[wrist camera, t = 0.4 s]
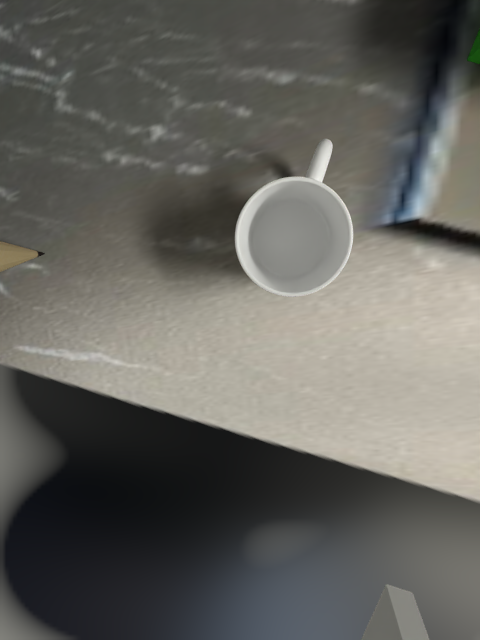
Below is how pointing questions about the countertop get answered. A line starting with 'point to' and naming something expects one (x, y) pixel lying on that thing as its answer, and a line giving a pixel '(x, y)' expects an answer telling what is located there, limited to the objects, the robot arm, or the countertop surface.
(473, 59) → the toy
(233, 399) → the countertop surface
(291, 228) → the cup
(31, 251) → the ice cream cone
